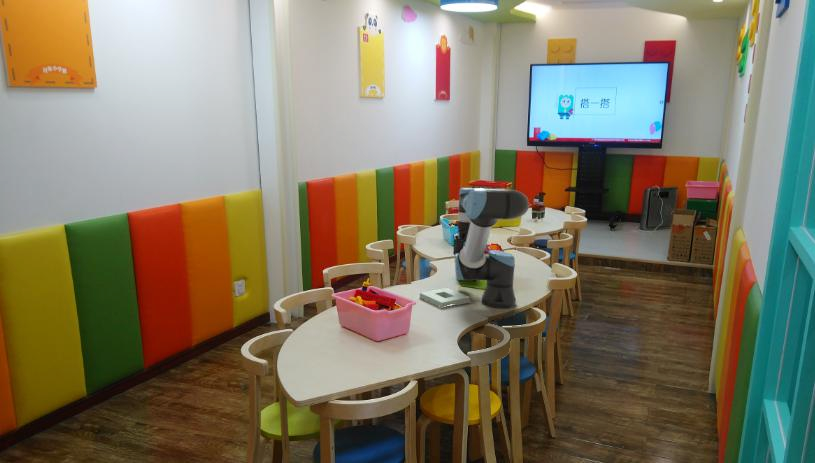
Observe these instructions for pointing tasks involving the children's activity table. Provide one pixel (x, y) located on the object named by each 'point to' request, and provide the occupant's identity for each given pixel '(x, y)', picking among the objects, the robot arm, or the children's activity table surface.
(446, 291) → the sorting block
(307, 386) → the children's activity table surface
